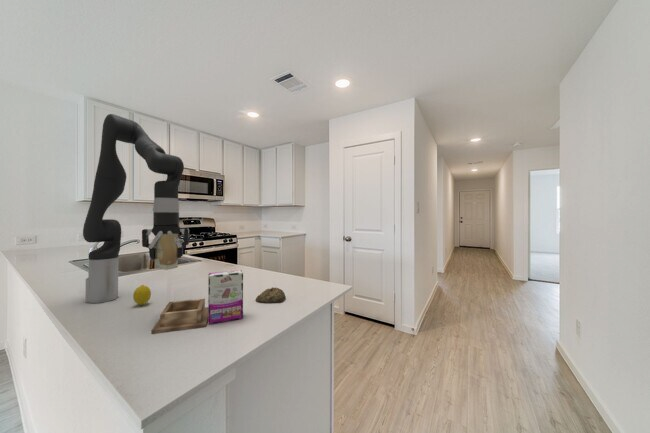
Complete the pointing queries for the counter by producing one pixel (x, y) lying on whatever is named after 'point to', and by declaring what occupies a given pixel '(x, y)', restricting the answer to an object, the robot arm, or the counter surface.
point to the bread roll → (271, 296)
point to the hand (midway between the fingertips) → (166, 258)
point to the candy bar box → (225, 296)
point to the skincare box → (166, 252)
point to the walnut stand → (182, 316)
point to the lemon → (142, 295)
